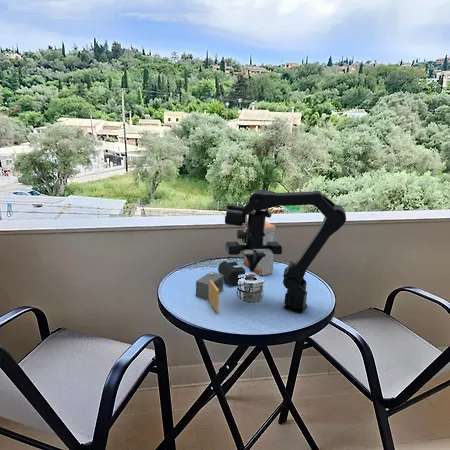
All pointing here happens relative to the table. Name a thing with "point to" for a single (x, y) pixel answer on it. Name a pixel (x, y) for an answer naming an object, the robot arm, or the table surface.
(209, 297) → the door
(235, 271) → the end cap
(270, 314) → the table surface
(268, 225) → the cracker box
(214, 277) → the block
